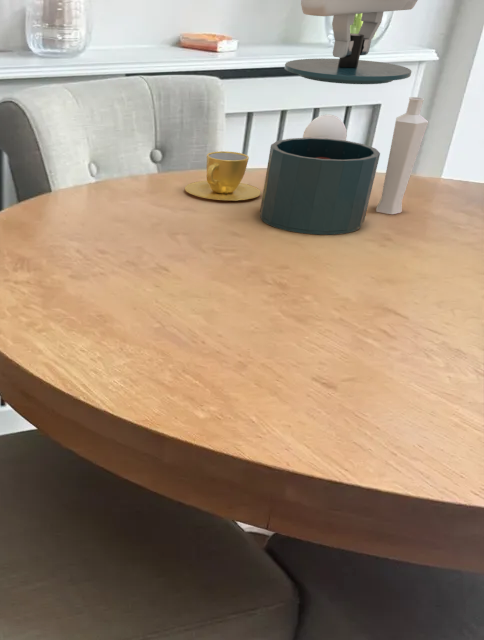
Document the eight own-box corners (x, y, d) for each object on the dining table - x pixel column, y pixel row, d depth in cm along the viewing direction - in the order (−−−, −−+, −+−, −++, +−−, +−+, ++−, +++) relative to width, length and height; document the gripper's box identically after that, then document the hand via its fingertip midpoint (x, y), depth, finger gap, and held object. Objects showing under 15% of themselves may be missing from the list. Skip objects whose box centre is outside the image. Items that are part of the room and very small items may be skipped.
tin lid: (433, 79, 111) (444, 37, 108) (362, 91, 103) (372, 45, 100) (331, 64, 120) (339, 25, 118) (258, 73, 113) (265, 31, 110)
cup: (209, 180, 146) (214, 144, 142) (274, 192, 140) (280, 155, 136) (169, 193, 138) (173, 156, 135) (235, 207, 132) (241, 168, 129)
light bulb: (342, 196, 139) (359, 118, 132) (303, 197, 138) (318, 119, 131) (323, 185, 144) (338, 110, 137) (285, 187, 143) (299, 111, 136)
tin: (382, 223, 127) (400, 151, 121) (320, 241, 120) (336, 165, 114) (301, 201, 136) (314, 133, 130) (239, 217, 128) (250, 145, 123)
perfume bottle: (404, 216, 130) (434, 102, 121) (373, 213, 131) (401, 99, 122) (404, 208, 133) (434, 97, 124) (374, 205, 134) (401, 94, 125)
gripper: (349, -83, 95) (321, 65, 103) (449, -82, 105) (416, 53, 114) (302, -84, 98) (278, 58, 107) (403, -83, 109) (374, 47, 117)
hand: (350, 56), depth 110 cm, fingers closed on tin lid, 2 cm apart
